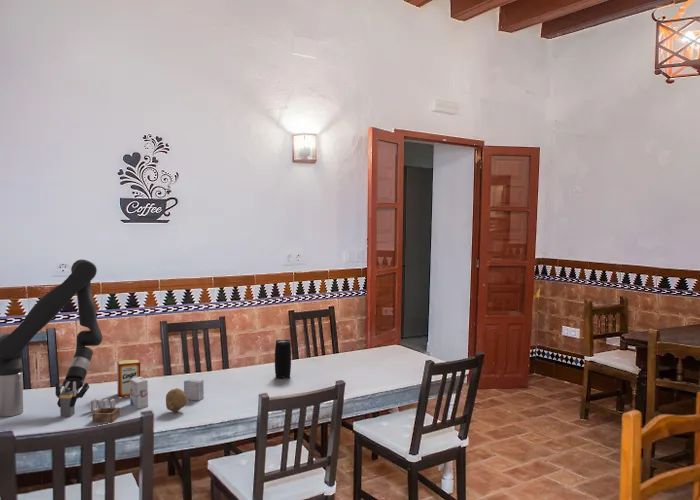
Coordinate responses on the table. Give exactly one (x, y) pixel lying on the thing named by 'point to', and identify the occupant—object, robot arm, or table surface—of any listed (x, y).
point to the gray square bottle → (66, 403)
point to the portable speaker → (282, 358)
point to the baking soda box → (126, 375)
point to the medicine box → (194, 389)
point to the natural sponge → (176, 400)
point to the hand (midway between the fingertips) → (65, 406)
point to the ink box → (139, 392)
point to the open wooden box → (106, 415)
